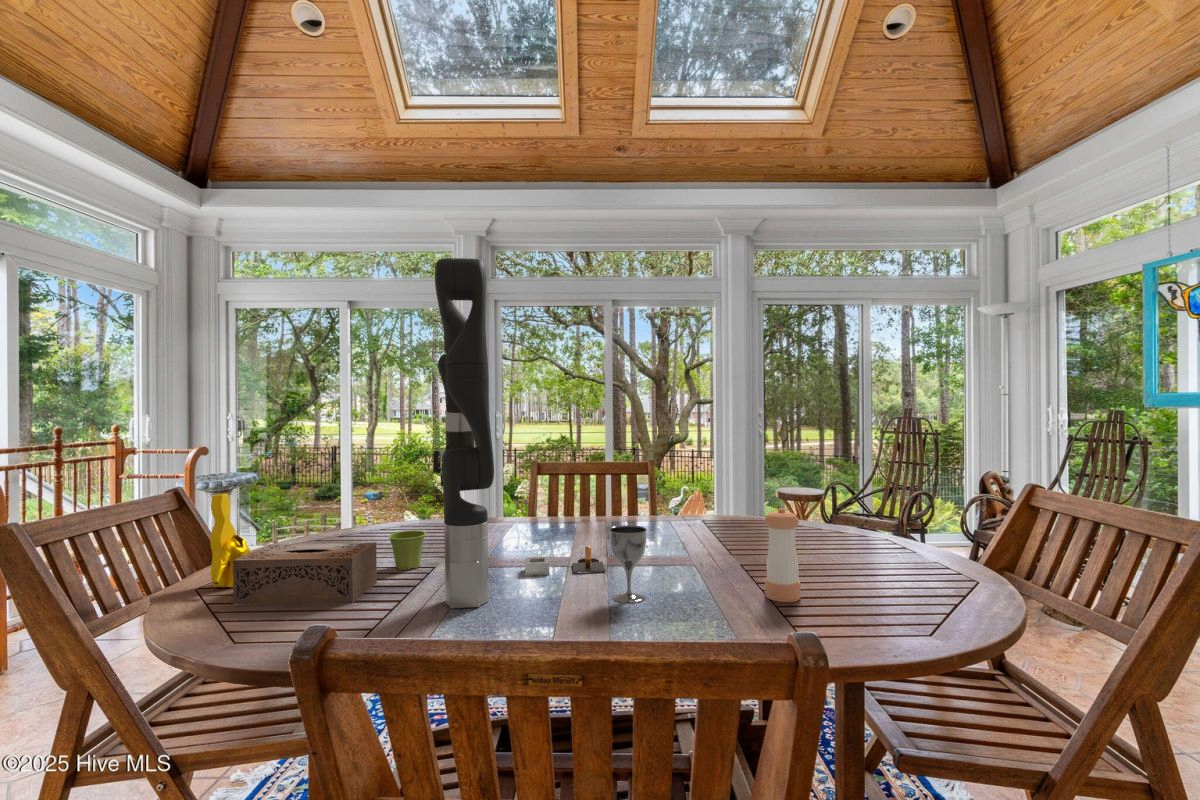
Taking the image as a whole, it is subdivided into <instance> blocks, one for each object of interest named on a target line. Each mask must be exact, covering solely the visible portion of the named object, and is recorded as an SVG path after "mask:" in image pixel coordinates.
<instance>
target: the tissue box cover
mask: <svg viewBox="0 0 1200 800" xmlns="http://www.w3.org/2000/svg"><path fill="white" fill-rule="evenodd" d="M377 559H378V558H377V542H336V543H335V542H334V543H331V542H330V543H329V542H328V543H284V544H283V543H280V544H279V543H277V544H275V543H274V544H266V545H264V546H263V547H261V548H259V549H255V550H253V551H251V553H249V554H246V555H244V556H242V557H240V558H237V559H235V560H233V588H232V590H233V597H232V598H233V605H234V604H277V605H315V604H317V605H318V604H322V605H323V604H353V603H355V602H356V601H357V600H358V599H360V598H361V597H362V596H363V595H364V594H366V591H367V590H368V591H369V590H371V588H372V587H374V586H375V585H376V584H378V583H377V582H378V572H377V571H378V570H377V567H378V566H377V565H378V564H377V561H378V560H377ZM373 585H374V586H373ZM368 591H367V592H368ZM360 596H361V597H360Z"/></svg>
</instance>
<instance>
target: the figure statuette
mask: <svg viewBox="0 0 1200 800" xmlns="http://www.w3.org/2000/svg"><path fill="white" fill-rule="evenodd" d="M210 511H211V515H212V517H213V520H214V521H213V522H214V523H213V526H212V529H211V533H210V537H209V542H210V543H209V544H210V549H211V551H212V552H211V553H212V559H211V560H212V561H211V566H210V575H211V584H212V586H213V588H214V587H221V588H226V587H225V586H227V587H233V560H235V559H237V558H240V557H242V556H244V555H246V554H249V553H251V552H252V550H251V549H250V547H249V546H248V544H247V540H246V538H243V537H242V536H241V535H240V534H237V532H236V529H235V527H234V526H233V524H232V522H231V520H230V513H231V501H230V497H229V495H228V493H218V494H215V495H212V496H211V502H210Z"/></svg>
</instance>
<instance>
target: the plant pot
mask: <svg viewBox="0 0 1200 800" xmlns="http://www.w3.org/2000/svg"><path fill="white" fill-rule="evenodd" d="M426 535H427V532H426V531H422V530H404V531H403V530H402V531H397V532H394V533H390V534H389V535H388V539H389V541H390V543H391V547H392V552H393V560H394V564H395V568H396V569H398V570H399V571H409V570H411V569H418V568H419V567H420V566H421V562H422V561H421V560H422V553H423V552H422V551H423V546H424V545H423V544H424V541H425V536H426Z"/></svg>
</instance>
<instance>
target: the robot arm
mask: <svg viewBox="0 0 1200 800" xmlns="http://www.w3.org/2000/svg"><path fill="white" fill-rule="evenodd" d="M434 284H435V285H434V288H435V293H436V299H437V304H438V305H437V306H438V309H439V313H440V318H441V319H440V320H441V323H442V327H443V345H444V347H443V348H444V353H443V354H442V355H440V357H439V358H438V360H437V368H438V373H439V376H440V379H441V382H442V385H443V389H444V396H445V419H444V425H445V426H444V427H445V429H444V430H445V450H443V449H440V448H438V449H436V450H434V451H433V463H432V464H433V467H432V468H433V469H432V471H433V473H437V474H439V475H440V486H441V487H442V492H443V493H442V494H443V495H442V496H443V521H444V522H443V524H444V525H443V529H444V531H443V532H444V534H443V535H444V544H443V545H444V586H445V589H444V590H445V591H444V596H445V597H444V598H445V599H444V600H445V605H447V606H448V607H449V609H462V608H463V609H464V608H467V609H468V608H479V607H481V606H482V605H484V604H486V603H487V602H489V600H490V591H489V590H490V586H489V585H490V584H489V583H490V582H489V531H488V530H489V526H488V525H489V524H488V522H489V521H488V520H489V519H488V517H489V516H488V509H487V508H486V507H485V506H483V505H480V504H476V503H472V502H470V501H467V500H466V499H464V498H462V497H461V492H465V491H475V490H477V491H478V490H486V489H489V488H491V487H492V485H493V483H494V479H495V461H494V450H493V443H492V442H493V440H492V434H491V424H490V423H491V421H490V398H489V397H490V396H489V395H490V394H489V391H490V385H489V384H490V382H489V379H490V378H489V359H488V358H489V357H488V346H487V329H486V328H487V327H486V318H487V317H486V315H487V313H486V312H487V309H486V308H487V271H486V267H485V264H484V262H483V261H482V260H481V259H479V258H464V257H463V258H462V257H460V258H459V257H458V258H457V257H456V258H455V257H444V258H440V259H439V258H438V260H437V261H436V263H435V267H434ZM453 301H471V302H472V303H471V308H470V311H469V314H468V317H465V315H464V314H463V313H462V312H461V311H460V310H459V309H458V308H457V307H456V305H455V303H454V302H453Z"/></svg>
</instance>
